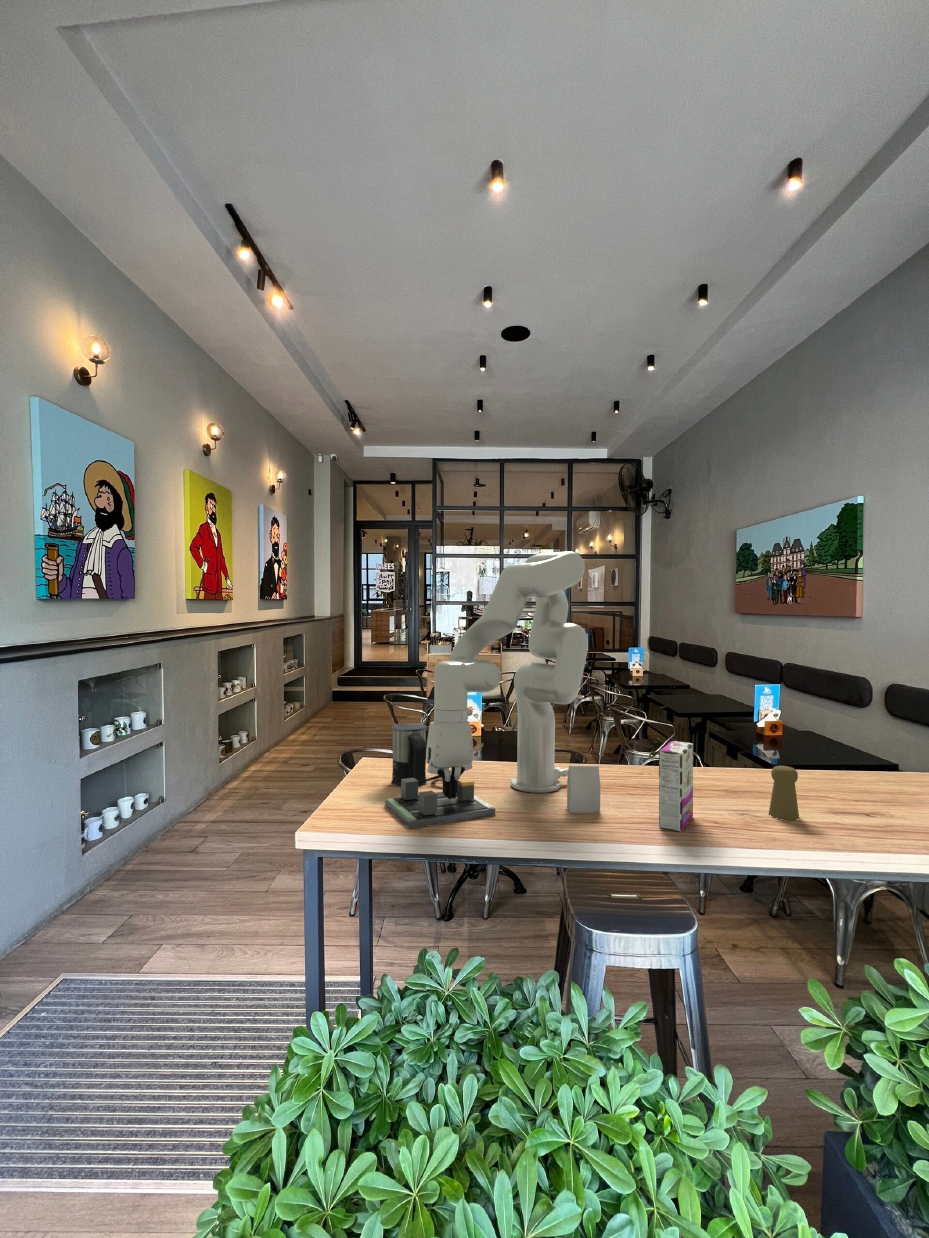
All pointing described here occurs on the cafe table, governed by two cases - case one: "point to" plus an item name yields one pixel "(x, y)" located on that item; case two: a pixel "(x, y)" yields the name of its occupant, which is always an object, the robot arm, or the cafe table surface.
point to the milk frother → (409, 753)
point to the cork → (784, 794)
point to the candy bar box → (675, 785)
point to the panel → (439, 810)
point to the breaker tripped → (465, 789)
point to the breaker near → (428, 802)
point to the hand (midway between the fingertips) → (449, 796)
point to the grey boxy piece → (583, 789)
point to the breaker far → (409, 788)
